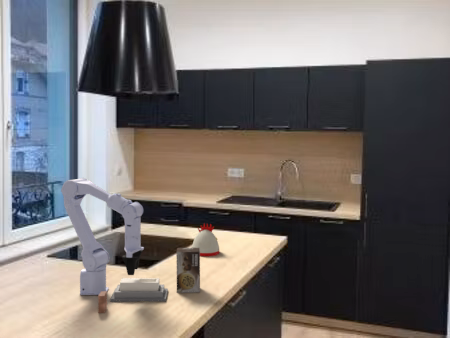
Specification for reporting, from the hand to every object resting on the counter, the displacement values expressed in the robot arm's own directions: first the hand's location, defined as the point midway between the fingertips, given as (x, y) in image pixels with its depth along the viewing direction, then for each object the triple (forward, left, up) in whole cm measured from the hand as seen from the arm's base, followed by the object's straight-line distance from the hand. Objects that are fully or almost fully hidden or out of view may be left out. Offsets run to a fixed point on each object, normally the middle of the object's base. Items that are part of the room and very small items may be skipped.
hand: (132, 271), depth 197 cm
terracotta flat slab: (-8, -14, -10) cm, 19 cm away
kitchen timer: (+28, +67, -10) cm, 73 cm away
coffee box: (+20, +8, -10) cm, 24 cm away
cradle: (+3, +1, -9) cm, 10 cm away
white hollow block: (+3, +1, -8) cm, 9 cm away
